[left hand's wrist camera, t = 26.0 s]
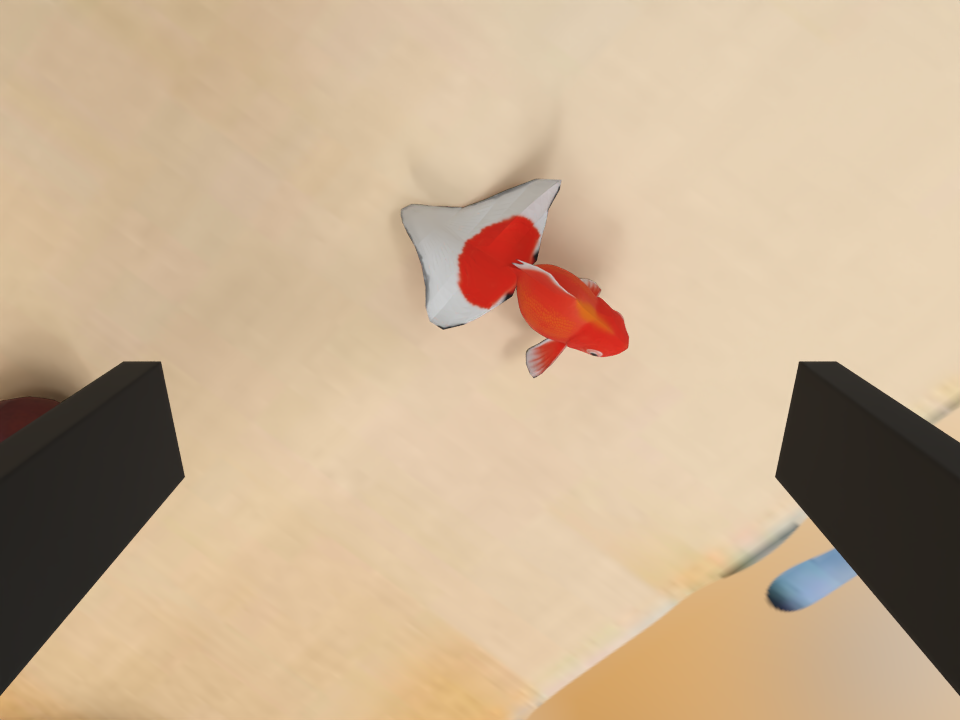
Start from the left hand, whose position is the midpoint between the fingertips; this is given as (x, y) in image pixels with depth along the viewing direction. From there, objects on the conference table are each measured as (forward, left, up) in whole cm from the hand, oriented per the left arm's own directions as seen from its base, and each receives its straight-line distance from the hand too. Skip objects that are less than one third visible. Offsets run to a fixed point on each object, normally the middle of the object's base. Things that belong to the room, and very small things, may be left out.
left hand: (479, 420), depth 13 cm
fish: (-1, +3, -29) cm, 29 cm away
